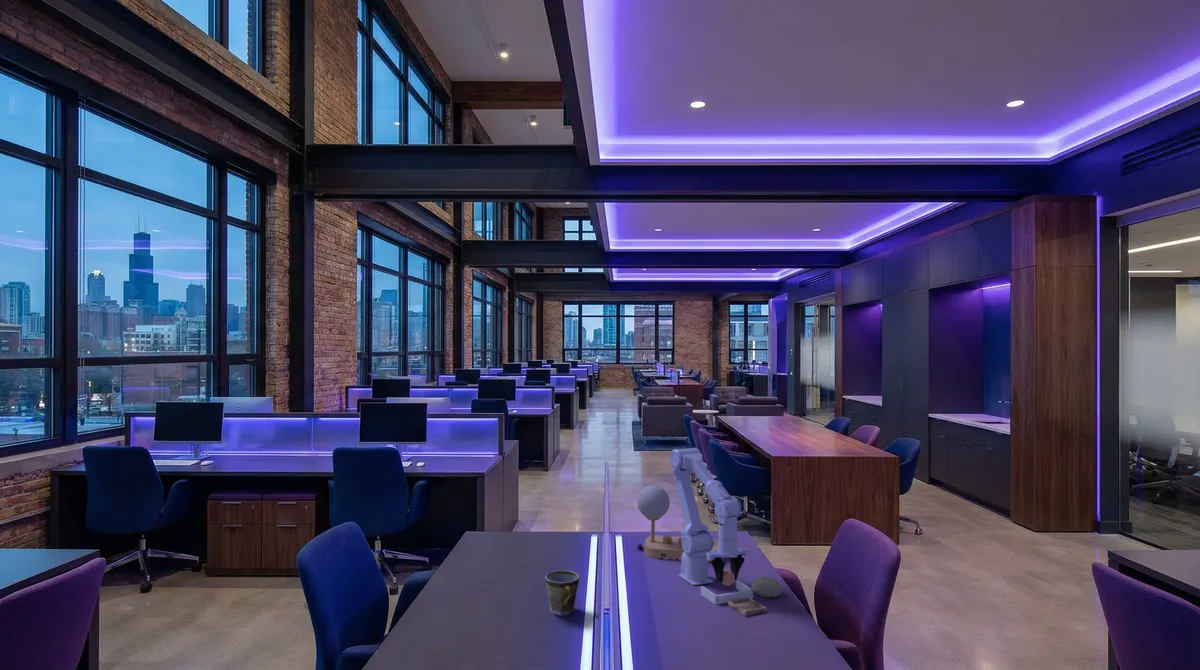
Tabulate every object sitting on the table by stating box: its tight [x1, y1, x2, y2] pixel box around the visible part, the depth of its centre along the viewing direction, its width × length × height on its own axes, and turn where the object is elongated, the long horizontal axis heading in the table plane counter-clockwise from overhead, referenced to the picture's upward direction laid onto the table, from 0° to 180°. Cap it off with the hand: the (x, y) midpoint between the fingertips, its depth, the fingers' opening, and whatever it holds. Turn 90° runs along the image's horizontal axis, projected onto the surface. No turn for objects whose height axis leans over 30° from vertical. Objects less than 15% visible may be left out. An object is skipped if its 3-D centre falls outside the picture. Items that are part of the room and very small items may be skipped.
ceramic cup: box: [544, 569, 580, 616], centre depth 171 cm, size 13×10×10 cm
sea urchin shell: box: [750, 576, 782, 599], centre depth 188 cm, size 9×8×8 cm
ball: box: [721, 568, 736, 587], centre depth 186 cm, size 5×5×5 cm
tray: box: [727, 598, 767, 617], centre depth 176 cm, size 8×8×1 cm
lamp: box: [636, 484, 724, 563], centre depth 226 cm, size 33×17×25 cm, turn 82°
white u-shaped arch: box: [700, 579, 755, 605], centre depth 185 cm, size 8×14×2 cm, turn 114°
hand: (726, 580), depth 186 cm, fingers closed on ball, 5 cm apart
